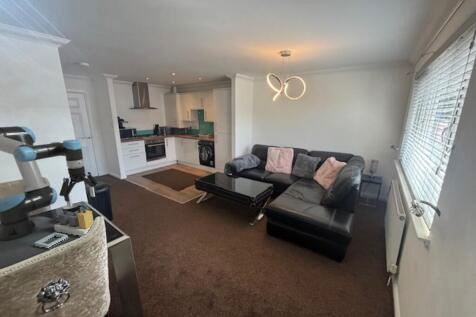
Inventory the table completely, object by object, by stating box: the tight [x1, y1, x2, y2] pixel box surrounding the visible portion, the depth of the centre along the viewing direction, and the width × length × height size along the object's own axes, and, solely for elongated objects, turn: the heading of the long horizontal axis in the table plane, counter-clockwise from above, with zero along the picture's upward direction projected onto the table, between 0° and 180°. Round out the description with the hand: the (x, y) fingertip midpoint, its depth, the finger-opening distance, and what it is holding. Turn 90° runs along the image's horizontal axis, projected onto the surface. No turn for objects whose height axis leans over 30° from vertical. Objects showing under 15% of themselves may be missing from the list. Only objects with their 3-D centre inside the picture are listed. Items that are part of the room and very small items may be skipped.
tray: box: [34, 231, 69, 249], centre depth 111 cm, size 10×10×2 cm
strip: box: [53, 210, 90, 237], centre depth 122 cm, size 24×10×12 cm, turn 75°
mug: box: [61, 202, 87, 213], centre depth 135 cm, size 12×9×10 cm
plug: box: [77, 208, 95, 230], centre depth 119 cm, size 5×5×14 cm
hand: (82, 200), depth 117 cm, fingers open, 13 cm apart
